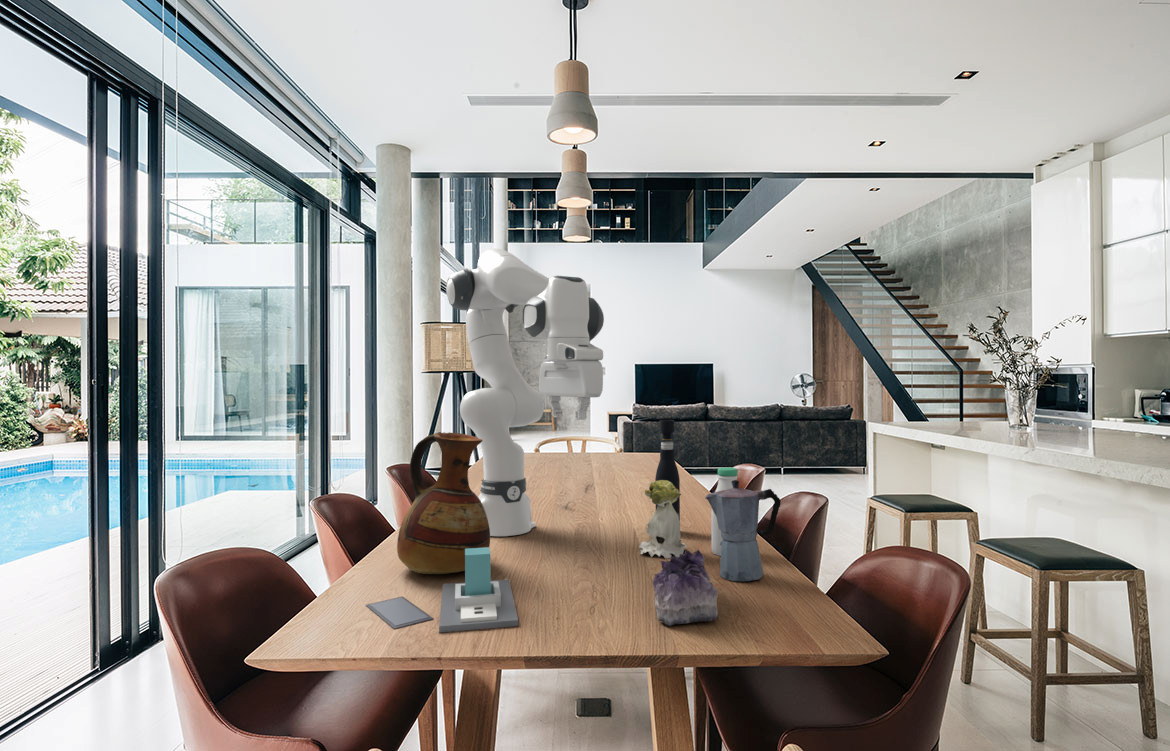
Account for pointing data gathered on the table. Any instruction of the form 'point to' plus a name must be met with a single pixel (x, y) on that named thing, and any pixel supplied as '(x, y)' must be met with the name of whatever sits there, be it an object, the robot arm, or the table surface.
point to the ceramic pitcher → (443, 510)
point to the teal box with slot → (477, 571)
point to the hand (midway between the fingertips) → (568, 418)
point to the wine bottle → (668, 461)
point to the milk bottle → (724, 483)
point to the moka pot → (741, 530)
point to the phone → (399, 612)
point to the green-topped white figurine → (663, 522)
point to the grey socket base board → (477, 608)
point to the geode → (684, 591)
